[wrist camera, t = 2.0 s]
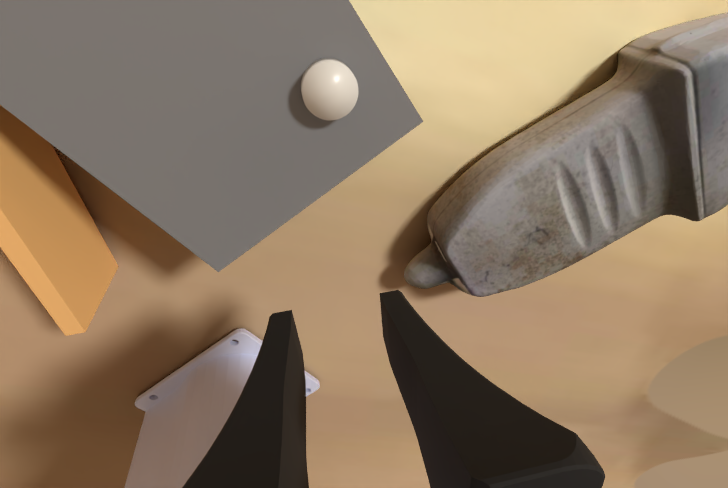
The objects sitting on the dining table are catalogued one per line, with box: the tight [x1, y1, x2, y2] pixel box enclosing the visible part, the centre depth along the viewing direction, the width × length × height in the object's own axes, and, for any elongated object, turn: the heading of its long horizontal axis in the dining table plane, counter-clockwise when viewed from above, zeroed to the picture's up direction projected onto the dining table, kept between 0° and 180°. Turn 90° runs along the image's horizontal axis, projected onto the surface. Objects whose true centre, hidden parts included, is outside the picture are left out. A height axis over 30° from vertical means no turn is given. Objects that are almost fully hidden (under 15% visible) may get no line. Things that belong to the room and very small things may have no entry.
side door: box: [0, 105, 118, 336], centre depth 16 cm, size 2×12×5 cm, turn 5°
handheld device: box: [404, 13, 728, 297], centre depth 22 cm, size 10×20×5 cm, turn 123°
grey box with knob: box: [0, 0, 423, 272], centre depth 14 cm, size 10×13×6 cm
